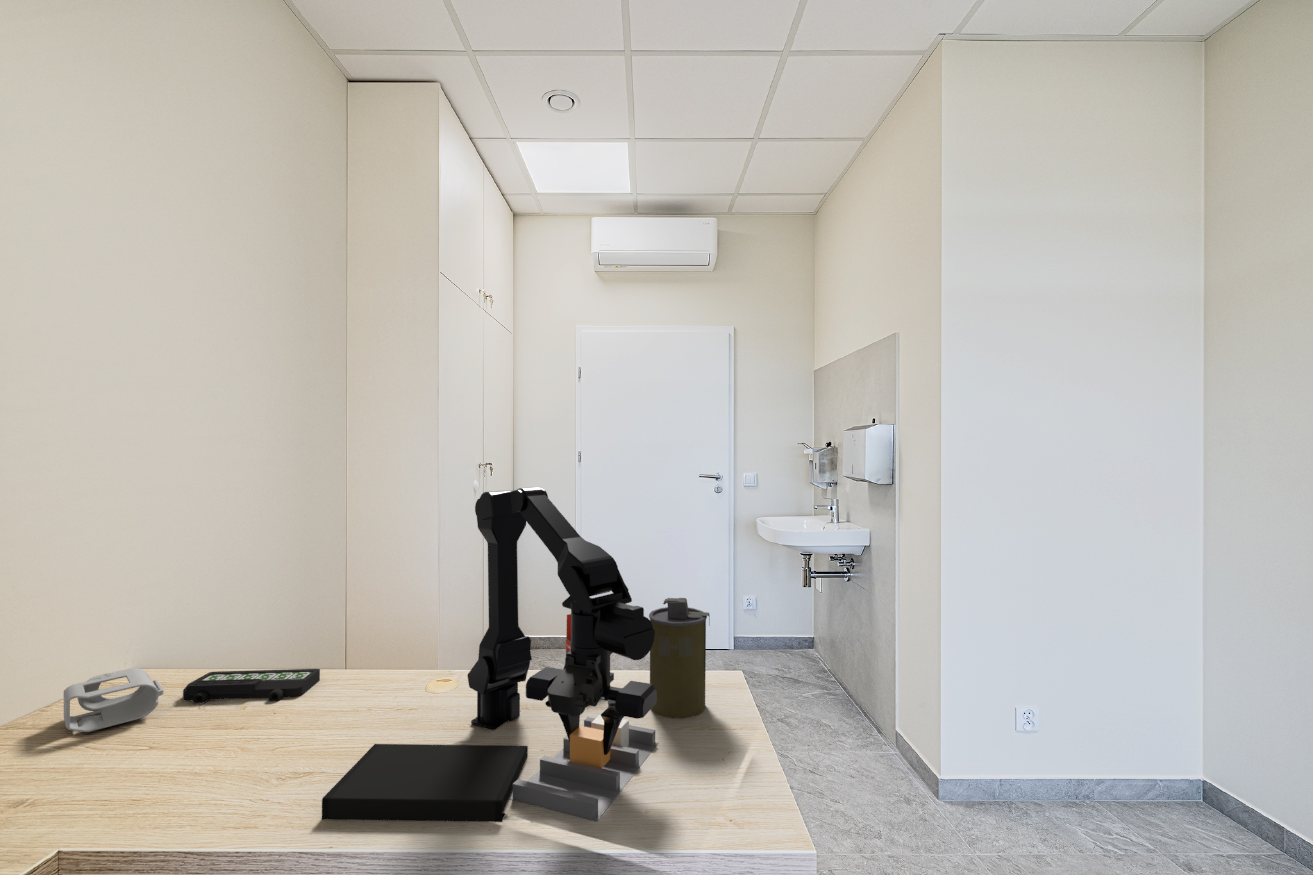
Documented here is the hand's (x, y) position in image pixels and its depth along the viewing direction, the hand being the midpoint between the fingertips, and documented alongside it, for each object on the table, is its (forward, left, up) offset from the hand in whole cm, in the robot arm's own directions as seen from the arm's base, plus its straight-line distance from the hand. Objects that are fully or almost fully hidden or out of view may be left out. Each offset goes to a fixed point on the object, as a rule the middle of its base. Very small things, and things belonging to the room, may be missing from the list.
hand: (590, 750), depth 88 cm
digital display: (-74, +2, -4) cm, 74 cm away
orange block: (0, 0, -2) cm, 2 cm away
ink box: (-15, +27, -4) cm, 32 cm away
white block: (0, +7, -3) cm, 7 cm away
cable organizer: (-86, -14, -4) cm, 87 cm away
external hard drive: (-19, -11, -4) cm, 22 cm away
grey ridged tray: (0, 0, -4) cm, 4 cm away
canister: (+5, +24, -4) cm, 25 cm away
